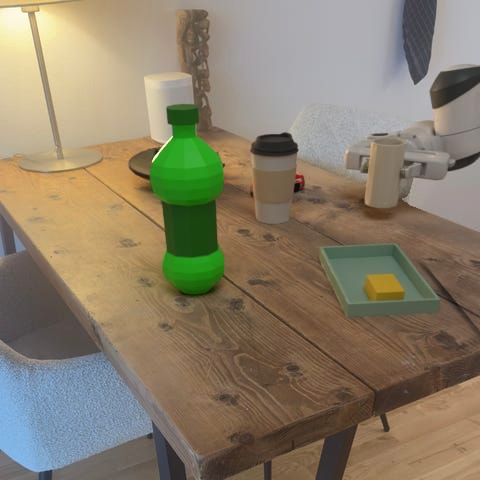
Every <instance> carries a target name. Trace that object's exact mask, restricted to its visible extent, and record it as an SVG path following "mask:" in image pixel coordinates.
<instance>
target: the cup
mask: <svg viewBox="0 0 480 480" xmlns="http://www.w3.org/2000/svg"><path fill="white" fill-rule="evenodd" d="M406 145H407V141H405V140H403V139H398V138H377V139H374V140H372V142H371V149H370V158H369V167H368V174H367V175H366V176H367V177H366V184H365V193H364V204H365V205H366V206H368V207H370V208H376V209H390V208H394V207H397V205H398V202H399V198H400V197H399V196H400V189H401V183H402V179H401V178H400V174H401V173H400V171H401V168H403V165H404V158H405V152H406Z"/></svg>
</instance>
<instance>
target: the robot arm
mask: <svg viewBox="0 0 480 480" xmlns="http://www.w3.org/2000/svg"><path fill="white" fill-rule="evenodd" d="M428 91H429V96H430V97H429V98H430V104H431V110H432V113H433V120H432V119H426V120H420V121H417V122H414V123H413V124H410V125H409V126H407V127H406V128H404V129H402V130H397V131H392V132H381V133H378V132H377V133H369V134H367V135H366V136H365V139H361V140H358V141H356V142H355V143H353V144H351V145H350V146H348V147H347V148H346V149H345V151H344V158H343V159H344V161H343V165H344V168H345V169H346V170H351V171H352V170H353V171H359V172H360V174H367V175H368V167H369V158H370V149H371V142H372V140H374V139H377V138H398V139H403V140H405V141H407V145H406V152H405V158H404V165H403V168H401V171H400V173H401V174H400V178H401V180H408V179H411V178H415V179H422V180H423V179H424V180H431V181H442V180H444V179H445V178H446V176H447V174H448V172H453V171H458V170H462V169H464V168H467V167H469V166H471V165H473V164H474V163H475V162H477V161H478V160H479V159H480V64H473V63H460V64H454V65H450V66H448V67H447V68H445V69H443V70H440V71H439V73H438V74H437V76H436V77H435V79H434V81H433V82H432V84H431V87H430V89H429V90H428Z"/></svg>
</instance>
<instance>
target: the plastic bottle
mask: <svg viewBox="0 0 480 480" xmlns="http://www.w3.org/2000/svg"><path fill="white" fill-rule="evenodd" d="M165 110H166V120H167V125H171V130H172V131H171V132H172V136H171V137H170V138H169V139H168V140H167V141H166V142H165V143H164V144H163V145H162V146H163V147H162V146H161V147H162V148H161V149H160V150H159V152H158V153H157V154H156V155H155V157H154V158H153V161H152V165H151V169H150V181H149V182H150V186H151V189H152V192H153V195H154V196H155V197H157V198H158V199H159V200H160V201H161V208H162V218H163V226H164V237H165V246H166V248H165V250H164V254H163V258H162V263H161V269H162V274H163V276H164V278H165V280H166V281H167V282H169V284H171V285H172V286H174V287H175V288H176V289H178V290H179V291H180V292H182V293H183V294H188V295H200V294H201V295H202V294H206V293H208V292H209V291H210V290H212V288H213V287H214V286H216V285H217V284H218V283H219V282H220V281H221V280H222V278H223V276H224V274H225V269H226V268H225V254H224V251H223V249H222V247H221V246H220V244H219V243H218V219H217V217H218V216H217V199H218V197H219V196H220V195H221V193H222V192H223V189H224V183H225V179H224V175H225V174H224V168H223V160H222V158H221V155H220V154H219V153H218V154H219V155H218V154H217V153H216V152H217V151H216V150H214V148H212V147H211V146H210V145H209V144H208V143H207V142H205V140H204V139H202V137H200V136H198V135H197V126H196V125H197V124H200V112H199V110H200V109H199V105H197V104H193V103H178V104H176V103H175V104H171V105H166V109H165ZM215 151H216V152H215Z"/></svg>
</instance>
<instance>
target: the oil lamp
mask: <svg viewBox="0 0 480 480" xmlns="http://www.w3.org/2000/svg"><path fill="white" fill-rule="evenodd" d="M163 146H164V145H162V146H158V147H151V148H147V149H145V150H142V151H139V152H137V153H135V154H133V155H131V156H130V158H129V159H128V161H127V166H128V169H129V170H130V172H132V173H133V174H134V175H135V176H137V177H140V178H142V179H143V180H146V181H149V182H150V169H151V165H152V161H153V158H154V157H155V155H156V154H157V153H158V152H159V150H160V149H161V148H162V147H163ZM214 151H215V152H216V153H217V154H218V155H219V156H220V153H219V152H218V151H216V150H214ZM222 163H223V162H222ZM225 166H226V163H225V162H224V163H223V169H224V168H225Z"/></svg>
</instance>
